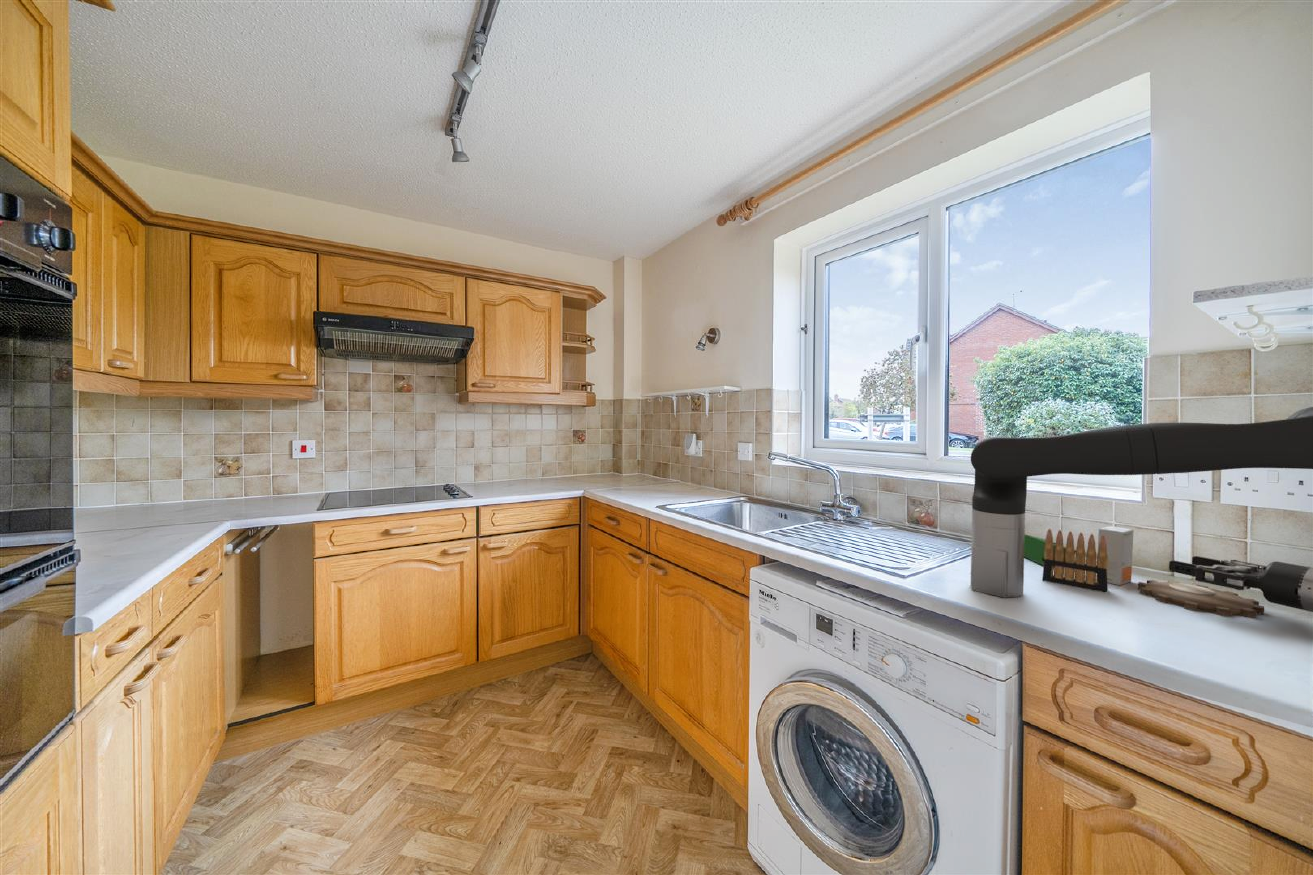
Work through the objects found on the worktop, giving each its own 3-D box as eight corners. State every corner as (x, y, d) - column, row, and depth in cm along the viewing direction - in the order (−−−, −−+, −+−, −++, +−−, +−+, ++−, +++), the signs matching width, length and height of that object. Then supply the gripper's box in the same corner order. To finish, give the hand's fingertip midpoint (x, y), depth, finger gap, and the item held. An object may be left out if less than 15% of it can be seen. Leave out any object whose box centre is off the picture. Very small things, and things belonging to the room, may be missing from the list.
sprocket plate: (1260, 624, 83) (1261, 617, 83) (1129, 596, 97) (1130, 589, 97) (1266, 603, 93) (1266, 596, 93) (1146, 580, 106) (1146, 574, 106)
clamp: (1062, 583, 117) (1082, 556, 113) (1036, 576, 118) (1056, 549, 114) (1038, 553, 127) (1056, 527, 123) (1015, 547, 128) (1032, 521, 124)
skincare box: (1121, 586, 103) (1122, 532, 102) (1096, 580, 106) (1097, 528, 106) (1132, 581, 105) (1134, 529, 105) (1107, 576, 109) (1109, 525, 109)
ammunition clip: (1107, 590, 100) (1109, 535, 100) (1107, 592, 99) (1109, 536, 98) (1043, 578, 108) (1044, 527, 107) (1042, 580, 106) (1043, 528, 106)
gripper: (1332, 563, 83) (1200, 541, 98) (1295, 573, 78) (1162, 548, 93) (1330, 605, 83) (1199, 576, 98) (1293, 617, 78) (1161, 585, 93)
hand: (1181, 563), depth 96 cm, fingers open, 8 cm apart
